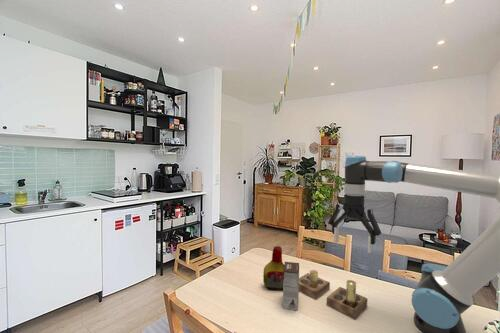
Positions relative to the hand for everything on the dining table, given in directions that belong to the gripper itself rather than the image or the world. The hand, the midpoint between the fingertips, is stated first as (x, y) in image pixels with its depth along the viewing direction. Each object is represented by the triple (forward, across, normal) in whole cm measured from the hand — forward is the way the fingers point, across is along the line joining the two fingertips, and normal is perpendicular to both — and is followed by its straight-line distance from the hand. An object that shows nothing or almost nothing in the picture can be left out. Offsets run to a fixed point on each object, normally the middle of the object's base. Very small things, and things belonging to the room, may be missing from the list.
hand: (352, 246), depth 96 cm
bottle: (+27, +32, +10) cm, 42 cm away
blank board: (+27, +2, -2) cm, 27 cm away
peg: (+27, 0, 0) cm, 27 cm away
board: (+27, +20, -2) cm, 33 cm away
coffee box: (+27, +20, +14) cm, 36 cm away
